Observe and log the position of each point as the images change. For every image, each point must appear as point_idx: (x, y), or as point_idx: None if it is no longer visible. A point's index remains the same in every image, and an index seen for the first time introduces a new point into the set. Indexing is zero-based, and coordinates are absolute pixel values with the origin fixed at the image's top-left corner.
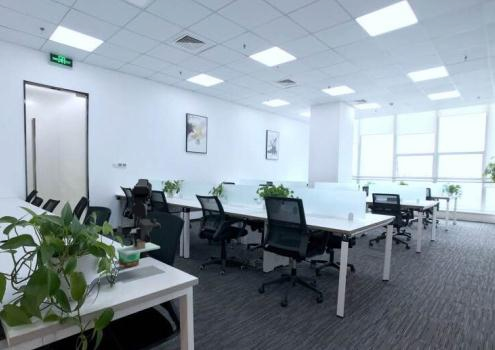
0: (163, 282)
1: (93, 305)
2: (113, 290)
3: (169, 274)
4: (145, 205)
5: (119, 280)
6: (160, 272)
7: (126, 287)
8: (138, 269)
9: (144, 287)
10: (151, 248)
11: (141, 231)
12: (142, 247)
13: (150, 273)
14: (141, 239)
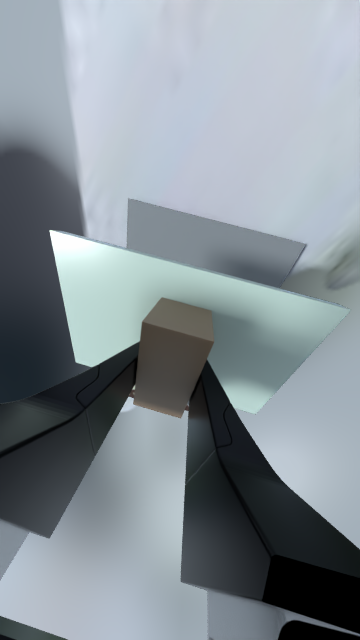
0: (216, 72)
1: None
2: None
3: (129, 165)
4: None
5: (283, 280)
6: (146, 215)
7: (336, 198)
8: None
9: (316, 105)
10: (130, 250)
11: (71, 493)
12: (182, 307)
13: (176, 242)
14: (130, 388)
